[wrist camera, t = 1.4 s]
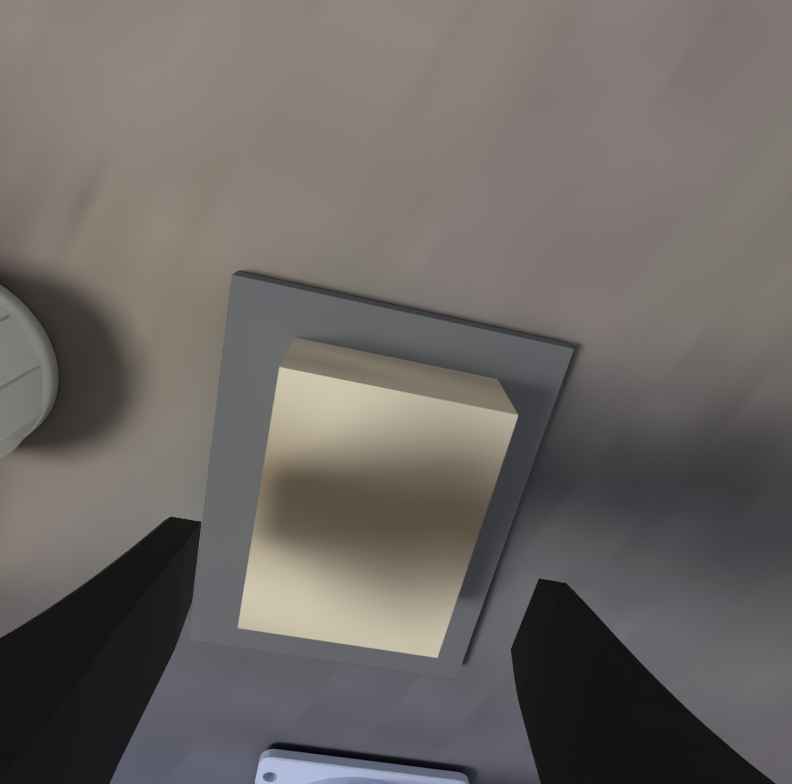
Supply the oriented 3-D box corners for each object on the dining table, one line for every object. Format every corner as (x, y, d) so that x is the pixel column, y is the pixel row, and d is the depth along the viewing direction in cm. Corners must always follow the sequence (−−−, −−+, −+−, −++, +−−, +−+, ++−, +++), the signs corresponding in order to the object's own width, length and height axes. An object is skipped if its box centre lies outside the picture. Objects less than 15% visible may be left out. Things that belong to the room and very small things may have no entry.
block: (430, 596, 18) (437, 657, 15) (255, 568, 17) (237, 628, 15) (497, 379, 15) (518, 415, 13) (294, 337, 14) (279, 366, 12)
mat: (454, 664, 19) (456, 679, 19) (194, 625, 19) (188, 639, 18) (566, 342, 15) (574, 348, 15) (237, 270, 14) (232, 274, 14)
